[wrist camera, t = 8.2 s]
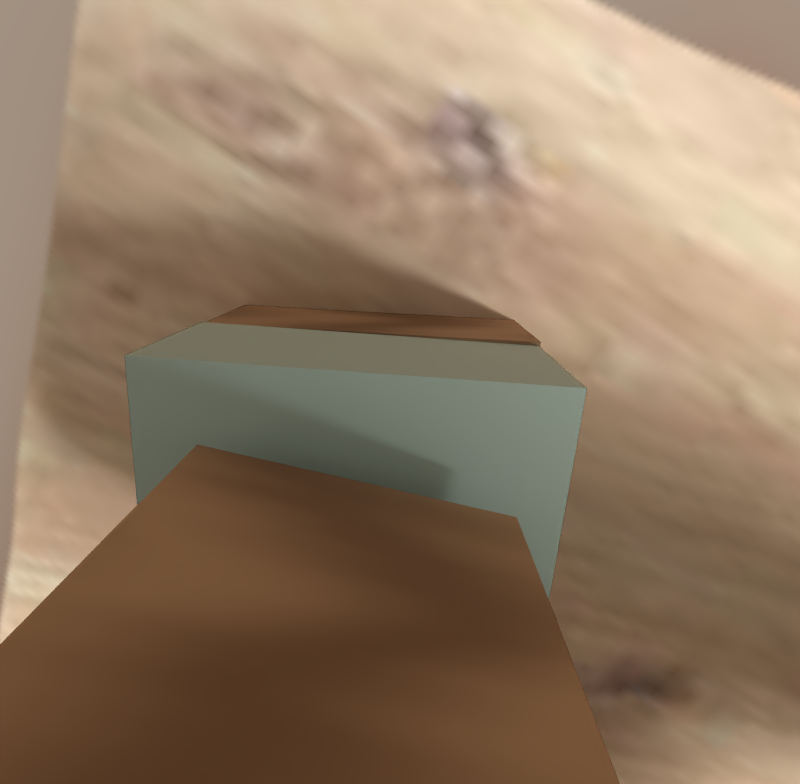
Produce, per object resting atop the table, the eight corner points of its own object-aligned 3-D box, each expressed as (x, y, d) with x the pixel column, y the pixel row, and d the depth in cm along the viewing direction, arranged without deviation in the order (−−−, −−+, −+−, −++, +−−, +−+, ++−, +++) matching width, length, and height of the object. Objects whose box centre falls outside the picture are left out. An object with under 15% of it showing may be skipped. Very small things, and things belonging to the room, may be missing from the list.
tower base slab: (512, 318, 18) (540, 342, 14) (485, 549, 20) (502, 621, 17) (247, 303, 18) (203, 323, 14) (254, 536, 20) (219, 606, 17)
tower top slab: (538, 345, 14) (587, 387, 10) (497, 624, 17) (523, 740, 13) (202, 322, 14) (124, 355, 10) (213, 605, 17) (155, 716, 13)
